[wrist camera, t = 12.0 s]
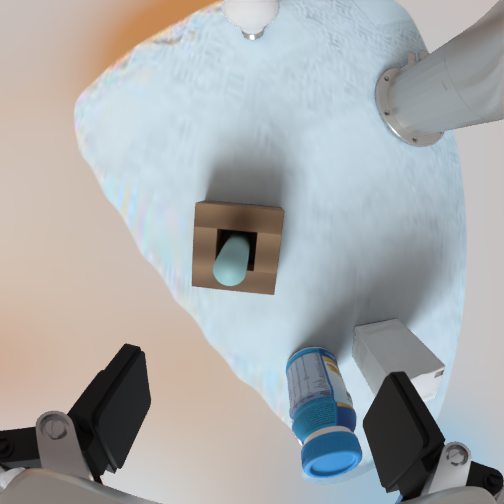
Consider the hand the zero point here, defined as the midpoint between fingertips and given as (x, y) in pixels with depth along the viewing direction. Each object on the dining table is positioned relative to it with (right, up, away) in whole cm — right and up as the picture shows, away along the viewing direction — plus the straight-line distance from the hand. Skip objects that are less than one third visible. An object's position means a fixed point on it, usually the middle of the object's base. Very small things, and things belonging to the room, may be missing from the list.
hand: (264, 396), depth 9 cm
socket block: (-2, +7, +27) cm, 28 cm away
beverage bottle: (+9, -13, +32) cm, 36 cm away
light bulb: (0, +36, +20) cm, 41 cm away
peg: (-2, +7, +27) cm, 28 cm away
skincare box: (+20, -8, +30) cm, 37 cm away
